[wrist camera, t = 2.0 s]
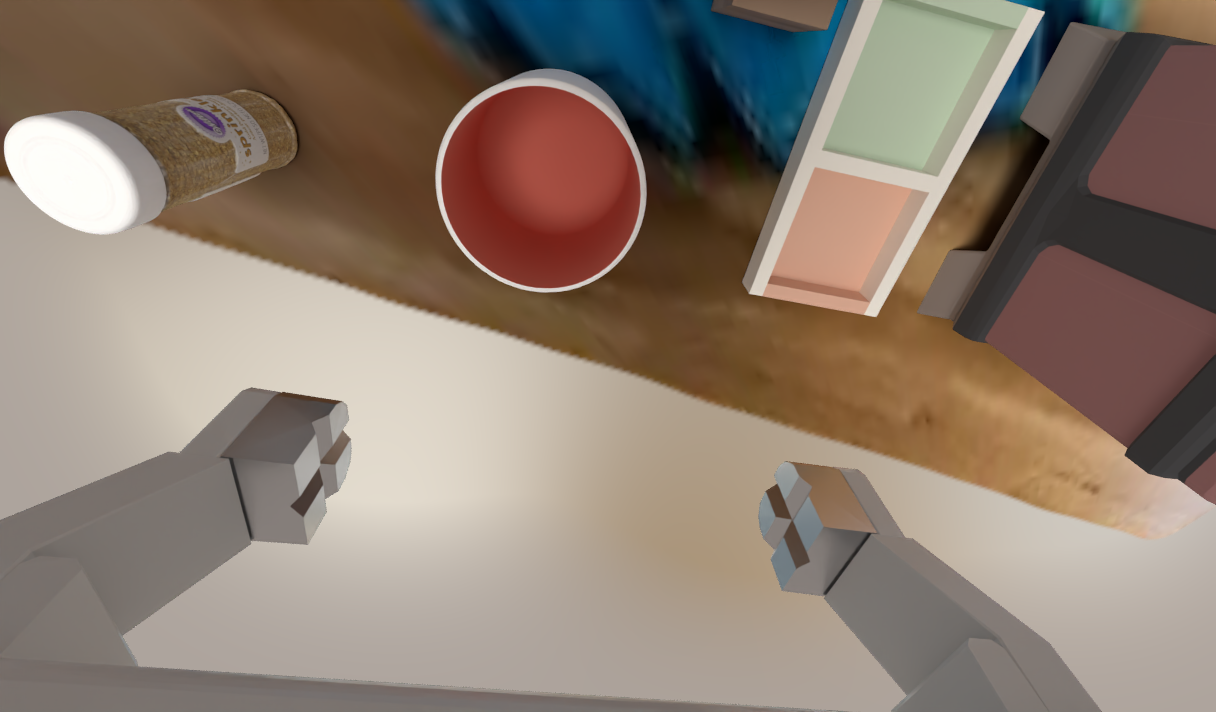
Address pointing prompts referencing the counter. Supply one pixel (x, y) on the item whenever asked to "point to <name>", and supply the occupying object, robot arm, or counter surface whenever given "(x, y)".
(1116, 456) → the counter surface
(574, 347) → the counter surface
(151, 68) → the counter surface
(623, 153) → the cup
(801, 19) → the walnut block
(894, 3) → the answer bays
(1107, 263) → the toaster
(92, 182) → the sprinkles bottle
